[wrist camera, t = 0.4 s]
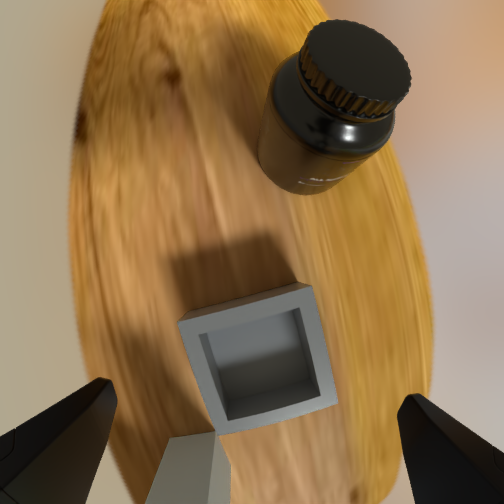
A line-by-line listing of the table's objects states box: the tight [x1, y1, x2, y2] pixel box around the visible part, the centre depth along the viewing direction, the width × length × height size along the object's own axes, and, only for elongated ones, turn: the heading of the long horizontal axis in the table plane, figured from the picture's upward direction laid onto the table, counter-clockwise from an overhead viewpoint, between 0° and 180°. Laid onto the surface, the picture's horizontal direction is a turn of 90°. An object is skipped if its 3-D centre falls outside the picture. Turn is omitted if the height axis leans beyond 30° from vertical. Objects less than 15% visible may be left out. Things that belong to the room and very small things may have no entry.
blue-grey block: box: [145, 431, 231, 504], centre depth 15 cm, size 4×4×10 cm
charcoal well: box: [177, 282, 338, 436], centre depth 18 cm, size 8×8×4 cm
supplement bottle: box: [257, 19, 411, 195], centre depth 15 cm, size 7×7×12 cm
